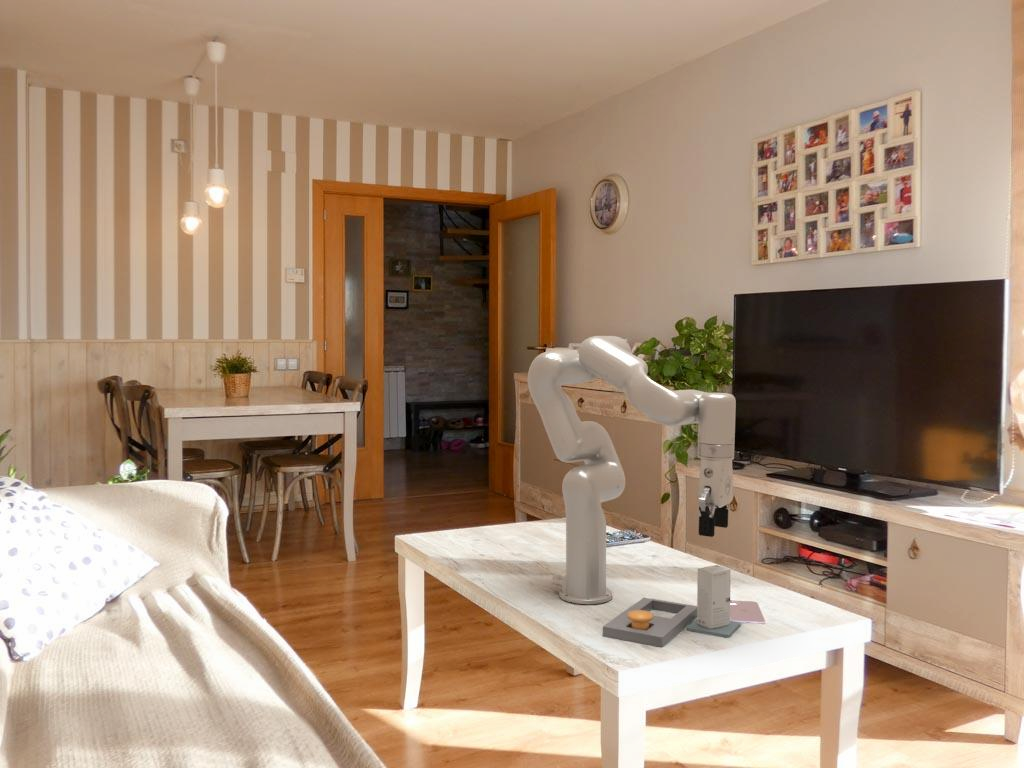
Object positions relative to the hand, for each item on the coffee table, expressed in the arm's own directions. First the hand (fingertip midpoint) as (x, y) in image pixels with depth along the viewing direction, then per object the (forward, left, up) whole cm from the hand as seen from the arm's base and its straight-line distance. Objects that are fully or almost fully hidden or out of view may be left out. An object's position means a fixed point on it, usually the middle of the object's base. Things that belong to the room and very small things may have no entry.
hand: (713, 531), depth 181 cm
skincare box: (0, 0, -20) cm, 20 cm away
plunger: (-12, -12, -21) cm, 27 cm away
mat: (0, 0, -21) cm, 21 cm away
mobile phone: (+3, +13, -21) cm, 26 cm away
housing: (-12, -6, -21) cm, 24 cm away
